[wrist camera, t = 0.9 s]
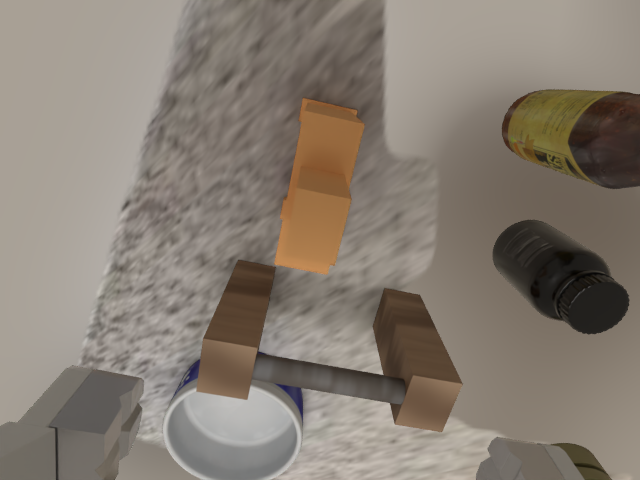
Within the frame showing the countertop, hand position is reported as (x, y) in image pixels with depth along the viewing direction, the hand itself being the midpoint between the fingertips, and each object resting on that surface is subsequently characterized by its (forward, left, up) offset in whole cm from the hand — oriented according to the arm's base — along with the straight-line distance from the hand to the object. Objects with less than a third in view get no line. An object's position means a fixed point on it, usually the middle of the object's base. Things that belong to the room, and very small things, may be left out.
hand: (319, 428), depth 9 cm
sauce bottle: (-8, +19, -32) cm, 38 cm away
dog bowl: (+30, -3, -32) cm, 44 cm away
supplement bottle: (+4, +23, -32) cm, 40 cm away
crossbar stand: (+14, +4, -32) cm, 35 cm away
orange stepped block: (0, 0, -32) cm, 32 cm away
